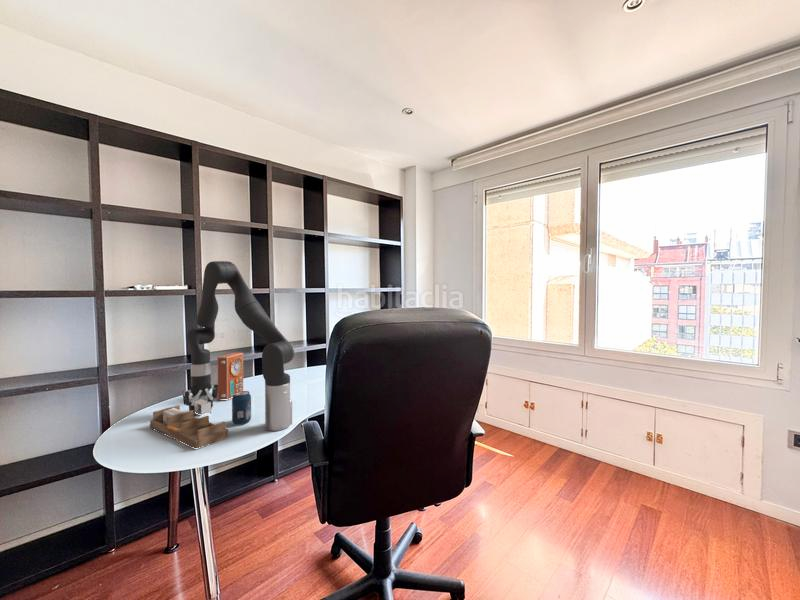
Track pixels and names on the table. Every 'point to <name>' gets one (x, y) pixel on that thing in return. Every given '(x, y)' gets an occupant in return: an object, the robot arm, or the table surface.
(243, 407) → the soda can
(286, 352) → the robot arm
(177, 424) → the rack
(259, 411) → the table surface
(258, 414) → the table surface
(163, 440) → the table surface
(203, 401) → the white rectangular block
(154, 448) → the table surface
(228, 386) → the control panel
